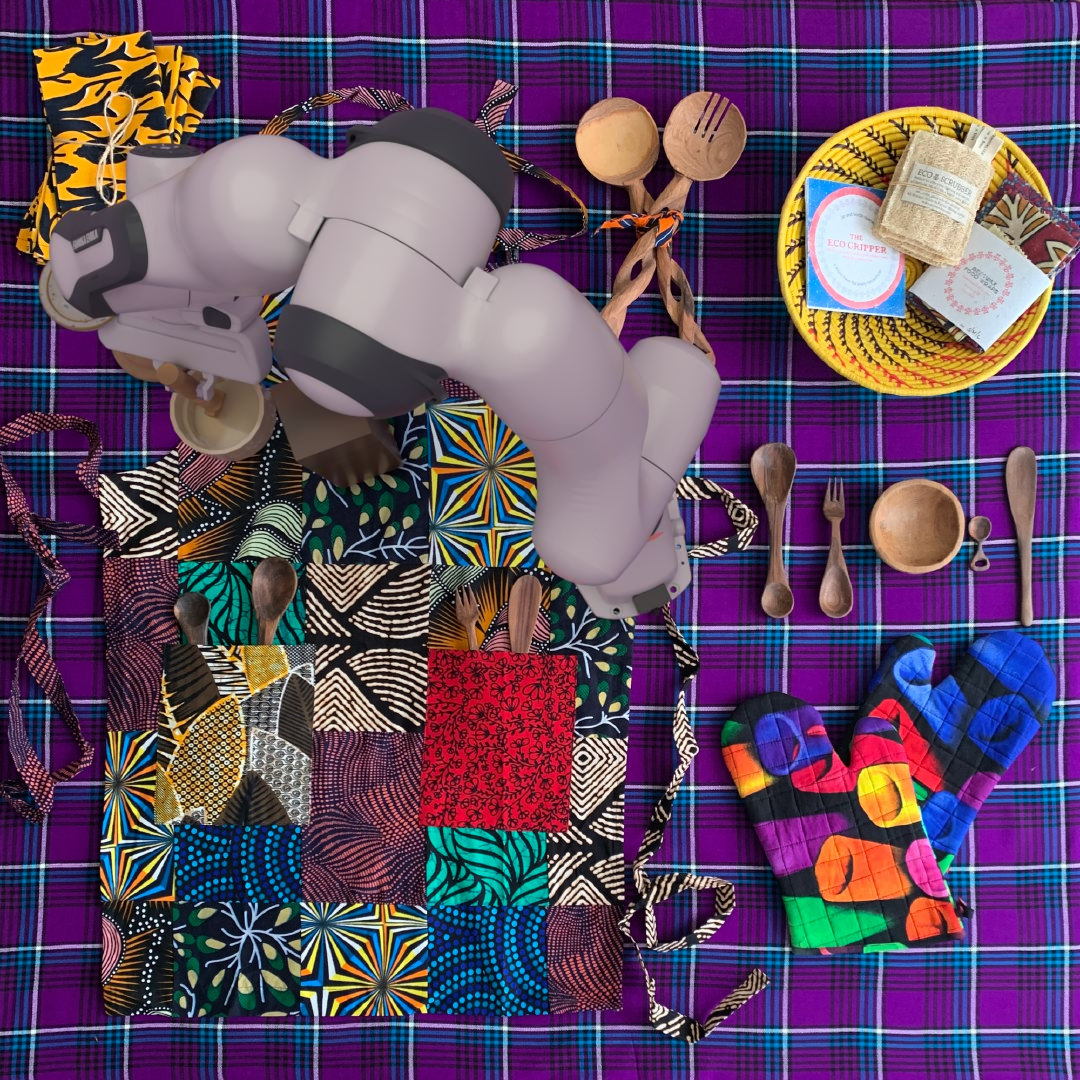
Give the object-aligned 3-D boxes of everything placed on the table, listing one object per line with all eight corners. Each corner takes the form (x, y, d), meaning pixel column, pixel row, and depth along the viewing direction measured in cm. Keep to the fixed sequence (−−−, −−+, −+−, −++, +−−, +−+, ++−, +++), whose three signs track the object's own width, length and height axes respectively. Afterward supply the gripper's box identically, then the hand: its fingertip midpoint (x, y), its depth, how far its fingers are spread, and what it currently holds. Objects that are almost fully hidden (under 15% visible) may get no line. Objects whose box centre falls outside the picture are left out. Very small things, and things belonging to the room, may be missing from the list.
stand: (404, 465, 123) (372, 432, 101) (341, 489, 122) (295, 461, 100) (381, 404, 123) (344, 358, 101) (319, 427, 123) (268, 386, 101)
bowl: (290, 443, 123) (276, 434, 117) (205, 475, 123) (187, 467, 117) (260, 360, 124) (245, 347, 118) (176, 392, 124) (157, 380, 118)
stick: (212, 390, 121) (161, 356, 105) (231, 394, 121) (182, 361, 105) (205, 416, 121) (152, 385, 105) (223, 420, 121) (173, 391, 105)
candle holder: (221, 345, 124) (157, 293, 104) (148, 401, 124) (70, 359, 104) (167, 277, 125) (94, 212, 105) (95, 332, 125) (8, 277, 105)
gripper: (76, 280, 101) (95, 386, 110) (253, 323, 100) (257, 427, 109) (107, 258, 106) (123, 361, 115) (276, 299, 105) (279, 400, 114)
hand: (190, 393), depth 112 cm, fingers closed on stick, 2 cm apart
